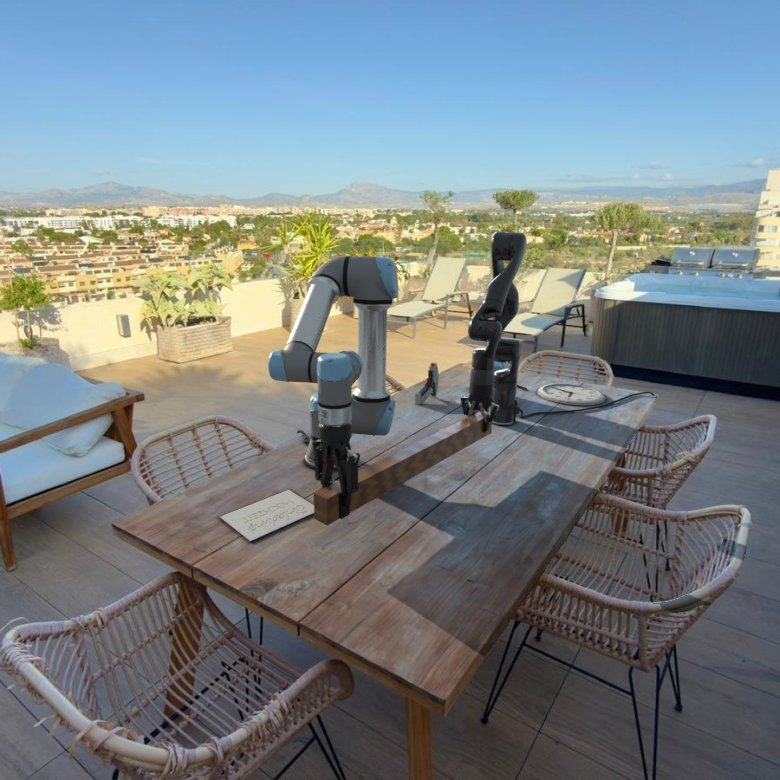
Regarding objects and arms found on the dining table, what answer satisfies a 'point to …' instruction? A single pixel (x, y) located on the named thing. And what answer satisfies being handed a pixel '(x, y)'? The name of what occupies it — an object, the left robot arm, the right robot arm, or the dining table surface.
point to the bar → (400, 467)
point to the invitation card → (268, 514)
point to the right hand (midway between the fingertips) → (478, 429)
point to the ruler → (521, 387)
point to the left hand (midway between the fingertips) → (336, 512)
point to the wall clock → (571, 394)
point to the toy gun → (429, 385)
